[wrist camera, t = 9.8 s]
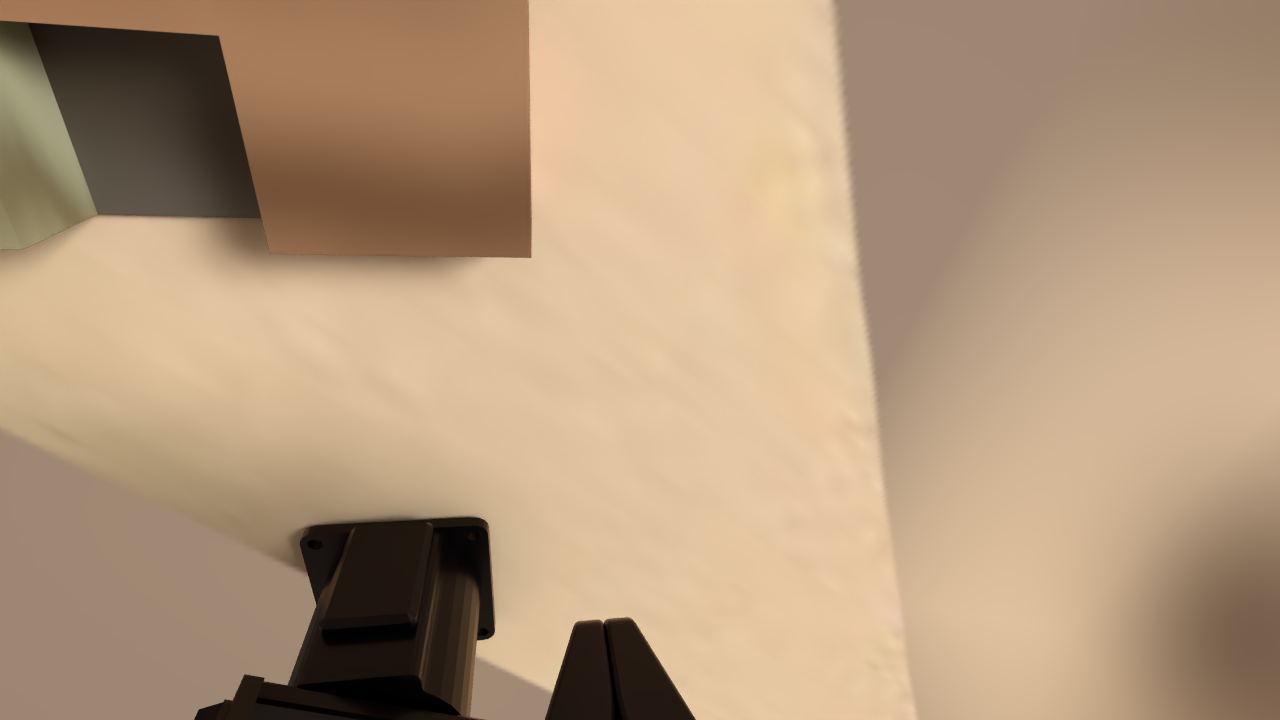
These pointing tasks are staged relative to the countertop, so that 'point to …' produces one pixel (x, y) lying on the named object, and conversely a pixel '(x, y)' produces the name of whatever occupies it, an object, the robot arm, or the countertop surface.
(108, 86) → the trap board
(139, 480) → the countertop surface
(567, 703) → the robot arm
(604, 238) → the countertop surface
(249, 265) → the countertop surface
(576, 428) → the countertop surface
